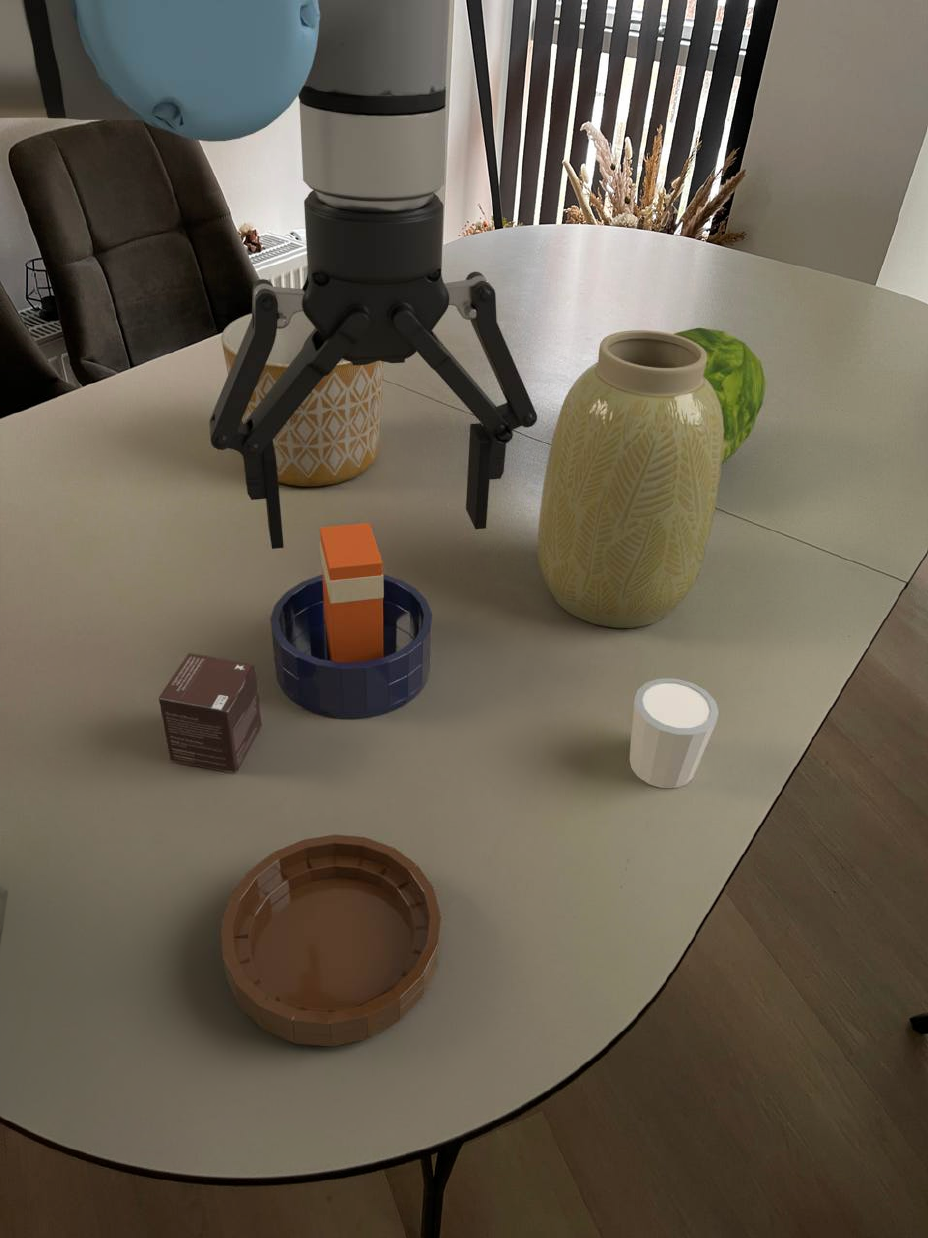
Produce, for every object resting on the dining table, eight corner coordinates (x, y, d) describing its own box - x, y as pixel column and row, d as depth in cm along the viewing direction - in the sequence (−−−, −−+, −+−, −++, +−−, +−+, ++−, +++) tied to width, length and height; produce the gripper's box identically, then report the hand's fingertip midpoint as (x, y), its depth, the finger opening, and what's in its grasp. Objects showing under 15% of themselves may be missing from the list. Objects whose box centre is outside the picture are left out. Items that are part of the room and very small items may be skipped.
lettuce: (640, 545, 121) (565, 447, 115) (688, 442, 136) (623, 351, 130) (755, 502, 110) (679, 391, 104) (794, 395, 124) (729, 292, 118)
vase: (661, 543, 110) (708, 313, 94) (717, 634, 97) (783, 385, 80) (516, 551, 107) (538, 316, 91) (553, 647, 94) (587, 391, 78)
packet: (334, 685, 87) (328, 568, 79) (325, 641, 92) (318, 526, 84) (384, 679, 88) (383, 562, 80) (372, 635, 93) (370, 522, 85)
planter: (256, 507, 112) (243, 375, 102) (220, 437, 126) (205, 314, 116) (408, 480, 119) (409, 354, 109) (358, 416, 133) (355, 299, 123)
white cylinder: (703, 800, 79) (720, 740, 74) (620, 787, 80) (633, 726, 75) (701, 742, 84) (717, 683, 80) (624, 730, 85) (636, 671, 81)
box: (199, 714, 84) (188, 650, 80) (263, 726, 83) (256, 662, 79) (168, 763, 79) (155, 697, 75) (236, 776, 79) (227, 711, 74)
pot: (283, 729, 83) (278, 678, 79) (269, 628, 94) (264, 578, 91) (445, 707, 86) (448, 657, 83) (413, 611, 98) (414, 563, 94)
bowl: (233, 1074, 59) (227, 1045, 57) (222, 884, 70) (216, 853, 68) (460, 1026, 62) (463, 996, 60) (415, 851, 73) (416, 821, 71)
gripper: (570, 172, 57) (537, 485, 69) (133, 177, 51) (185, 515, 64) (616, 205, 51) (571, 540, 64) (129, 215, 45) (188, 578, 58)
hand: (378, 528), depth 64 cm, fingers open, 13 cm apart
